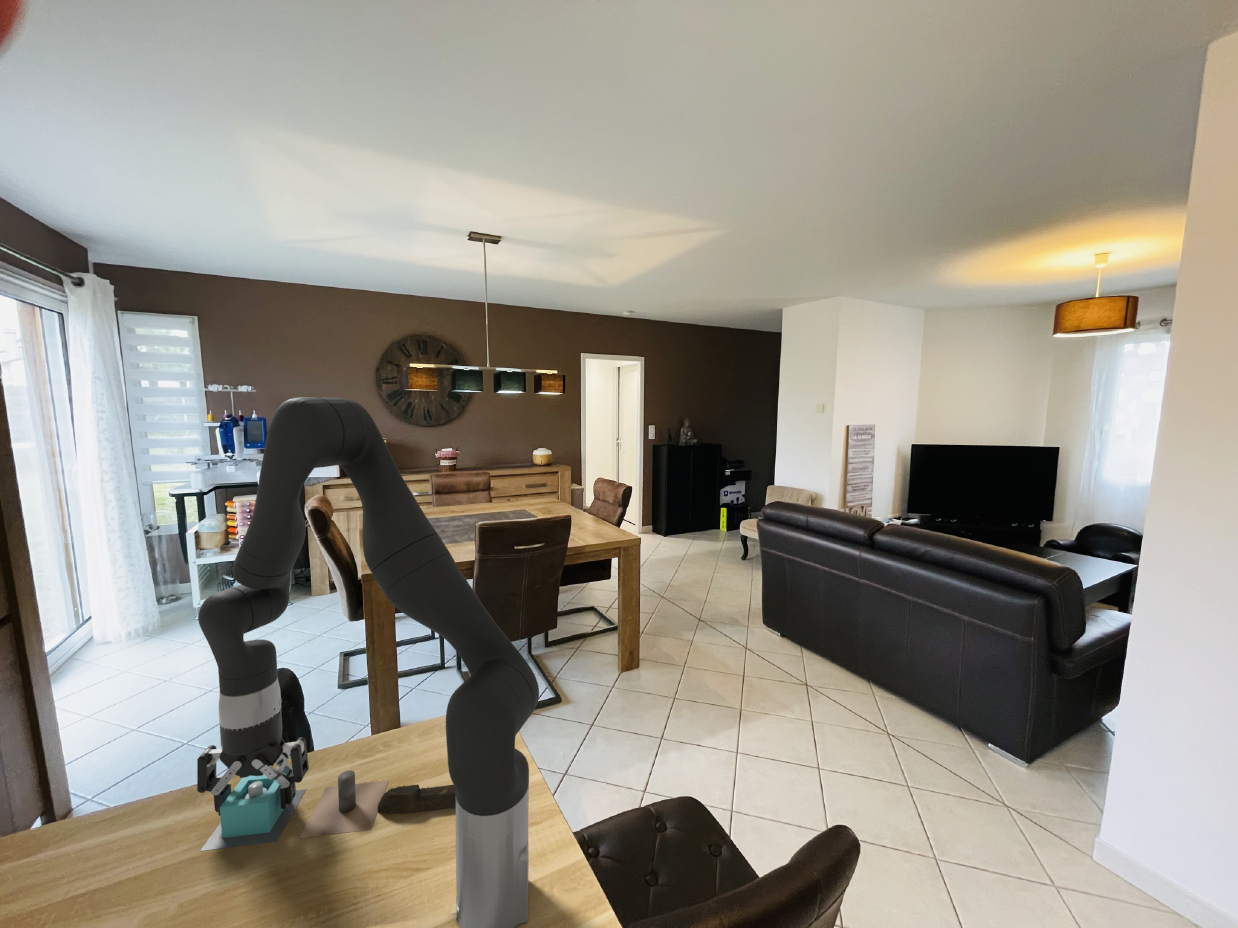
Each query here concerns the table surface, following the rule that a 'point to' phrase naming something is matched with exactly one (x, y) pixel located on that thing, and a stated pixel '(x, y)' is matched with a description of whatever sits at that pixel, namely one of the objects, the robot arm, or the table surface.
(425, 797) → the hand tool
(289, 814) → the grey peg base
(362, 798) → the rod stand
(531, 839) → the table surface
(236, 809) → the collar
